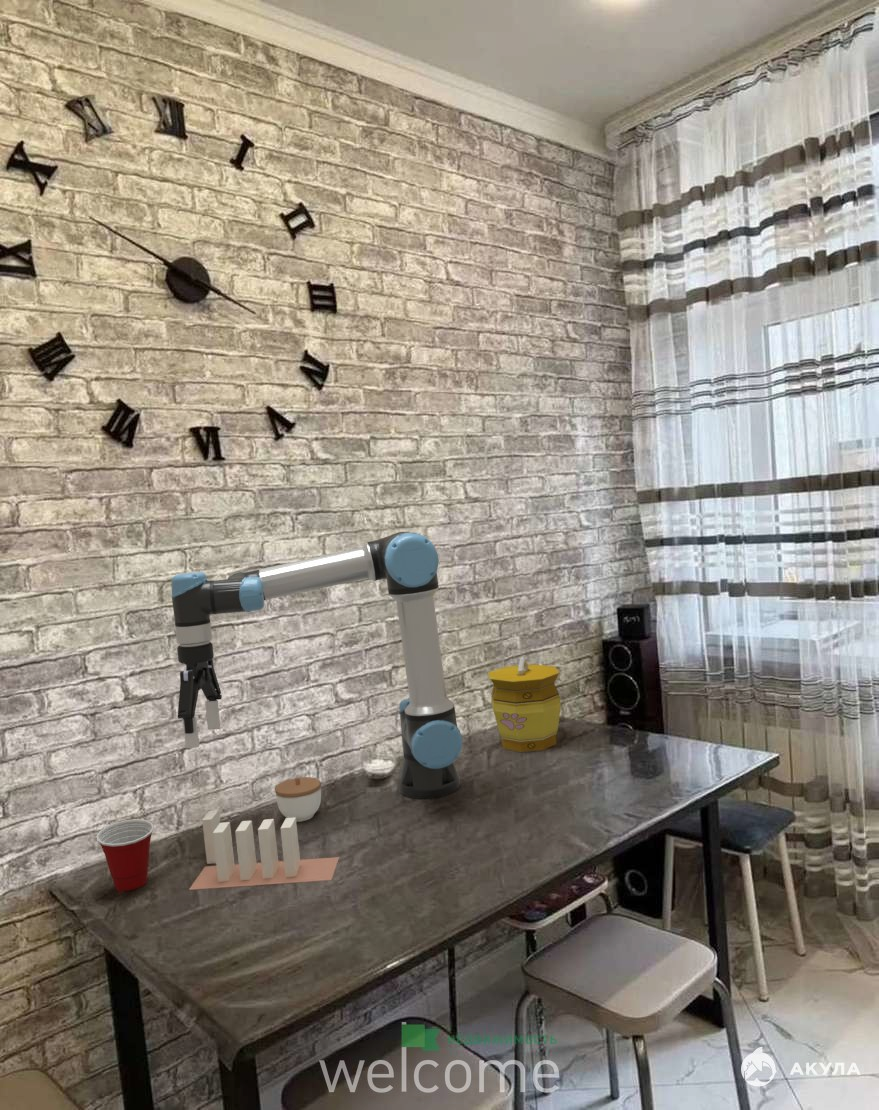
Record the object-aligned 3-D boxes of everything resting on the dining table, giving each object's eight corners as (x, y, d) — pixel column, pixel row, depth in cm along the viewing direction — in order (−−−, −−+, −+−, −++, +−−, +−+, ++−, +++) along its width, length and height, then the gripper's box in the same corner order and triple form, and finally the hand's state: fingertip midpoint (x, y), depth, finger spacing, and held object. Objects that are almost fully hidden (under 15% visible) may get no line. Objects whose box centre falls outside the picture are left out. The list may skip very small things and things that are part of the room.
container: (573, 733, 243) (566, 648, 241) (556, 756, 223) (549, 665, 221) (503, 731, 250) (497, 649, 249) (482, 753, 231) (474, 665, 229)
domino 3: (256, 868, 169) (251, 820, 168) (250, 879, 164) (245, 830, 163) (247, 868, 169) (242, 821, 168) (240, 880, 164) (235, 831, 163)
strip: (339, 859, 171) (339, 857, 171) (331, 882, 161) (331, 879, 161) (205, 869, 172) (205, 866, 172) (189, 892, 162) (189, 889, 162)
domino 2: (235, 869, 169) (229, 822, 168) (228, 881, 164) (222, 832, 163) (225, 870, 169) (220, 822, 168) (218, 881, 164) (212, 832, 163)
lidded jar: (268, 823, 194) (264, 784, 193) (296, 806, 203) (293, 768, 203) (305, 828, 189) (301, 788, 188) (332, 810, 198) (329, 772, 198)
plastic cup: (113, 906, 159) (105, 846, 158) (95, 888, 167) (88, 831, 166) (168, 886, 166) (161, 827, 165) (149, 869, 174) (142, 814, 173)
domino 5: (300, 865, 168) (295, 817, 168) (295, 876, 164) (290, 827, 163) (290, 865, 169) (286, 818, 168) (285, 877, 164) (280, 828, 163)
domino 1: (223, 855, 178) (218, 810, 177) (216, 865, 173) (211, 819, 172) (214, 856, 178) (209, 810, 177) (207, 866, 173) (202, 820, 172)
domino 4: (278, 866, 169) (273, 818, 168) (273, 878, 164) (267, 828, 163) (269, 867, 169) (264, 819, 168) (263, 878, 164) (257, 829, 163)
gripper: (198, 634, 195) (206, 722, 197) (154, 655, 170) (165, 756, 172) (229, 632, 195) (237, 721, 196) (190, 653, 170) (200, 754, 171)
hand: (203, 737), depth 184 cm, fingers open, 13 cm apart
